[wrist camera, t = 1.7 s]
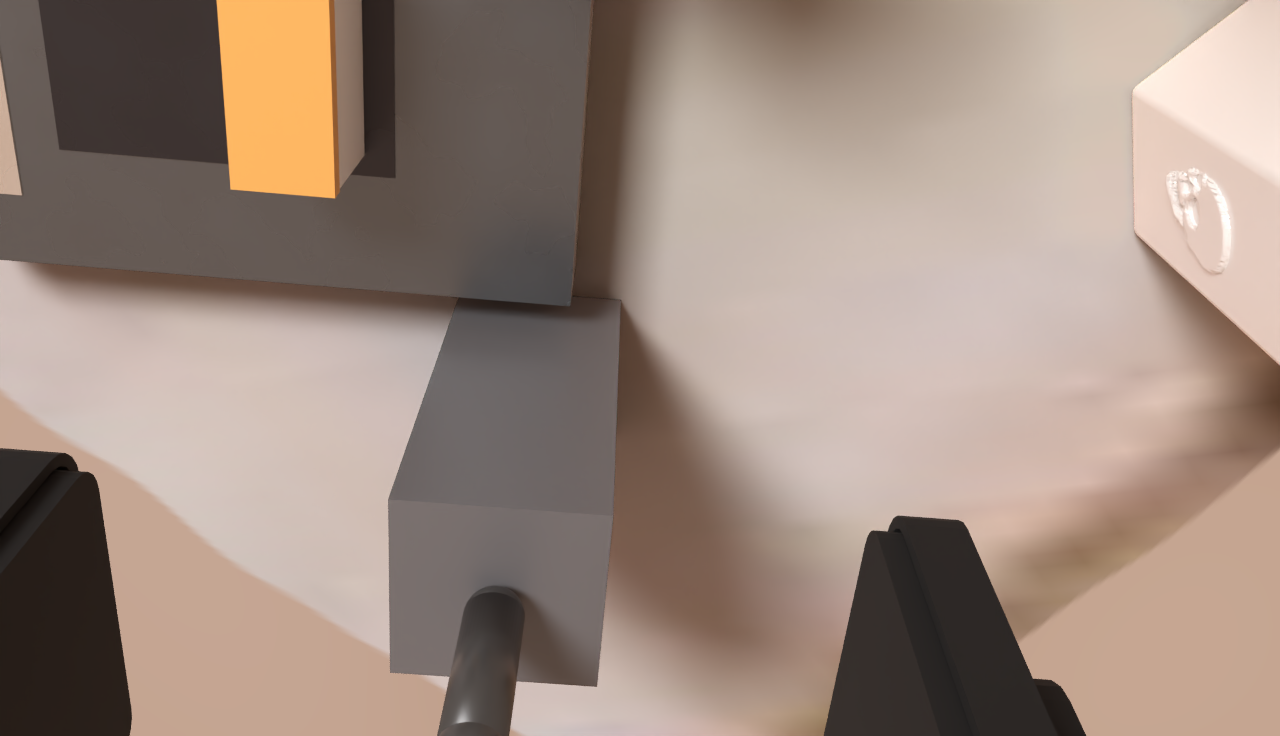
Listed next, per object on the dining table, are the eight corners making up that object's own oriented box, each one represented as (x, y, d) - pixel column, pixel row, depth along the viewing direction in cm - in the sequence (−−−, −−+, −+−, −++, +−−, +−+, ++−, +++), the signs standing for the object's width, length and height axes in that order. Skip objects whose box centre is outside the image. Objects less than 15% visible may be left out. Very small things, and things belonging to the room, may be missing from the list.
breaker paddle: (259, -92, 28) (211, -75, 25) (362, -82, 28) (326, -64, 25) (272, 147, 31) (230, 189, 28) (366, 155, 31) (334, 198, 28)
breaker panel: (-108, -312, 29) (-185, -322, 26) (610, -239, 30) (607, -241, 27) (-14, 218, 35) (-69, 254, 32) (575, 267, 36) (570, 307, 33)
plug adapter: (462, 286, 36) (330, 666, 21) (620, 300, 36) (607, 685, 21) (459, 424, 38) (338, 859, 23) (608, 436, 39) (588, 874, 23)
